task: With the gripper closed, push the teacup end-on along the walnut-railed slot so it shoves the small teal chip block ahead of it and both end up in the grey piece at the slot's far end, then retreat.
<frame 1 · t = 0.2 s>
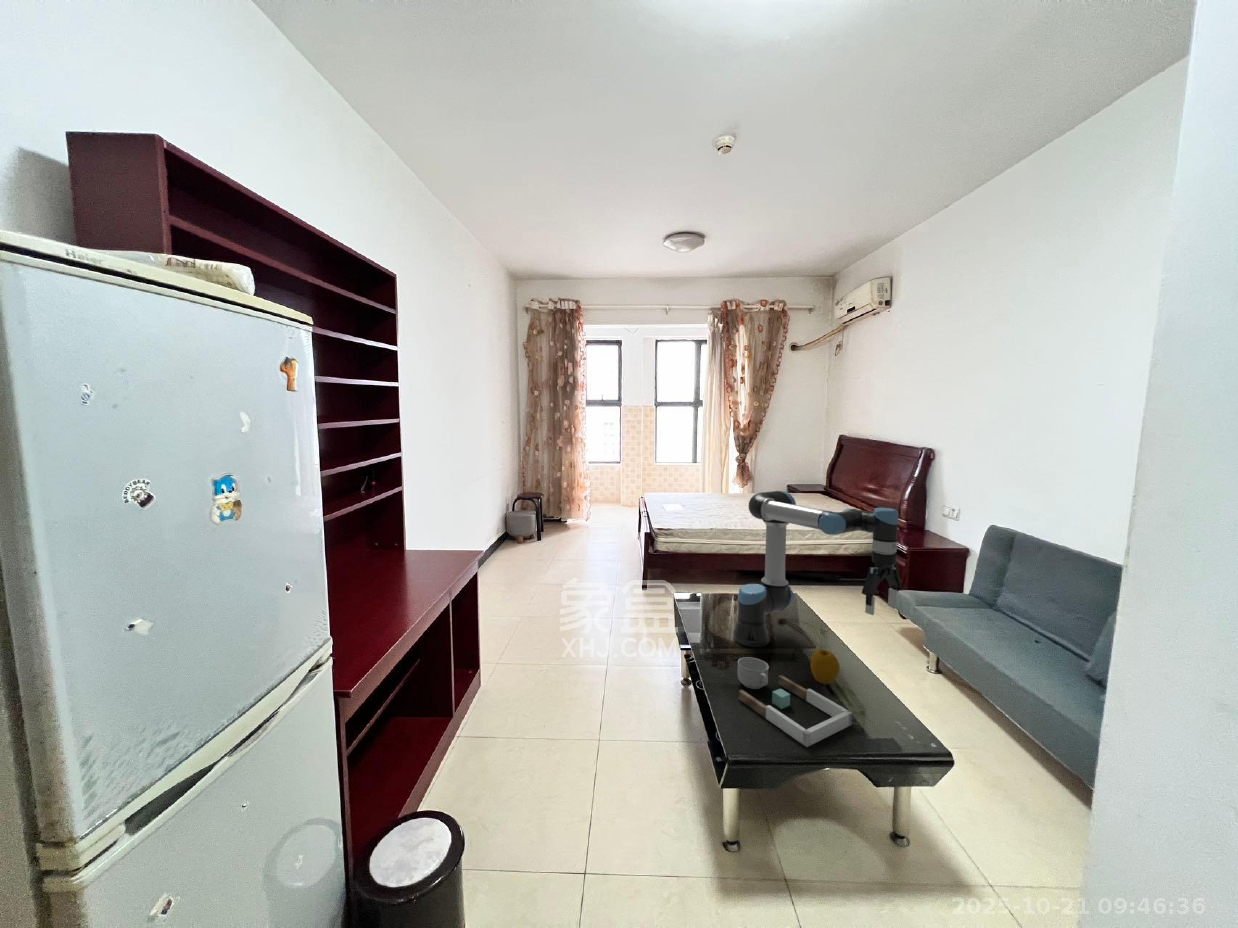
hand: (881, 610, 166), 28 cm above the table, fingers open, 13 cm apart
chip block: (780, 704, 156), on the table
teacup: (754, 687, 166), on the table
slot rails: (773, 699, 159), on the table
grey piece: (808, 721, 147), on the table
apple: (823, 682, 170), on the table
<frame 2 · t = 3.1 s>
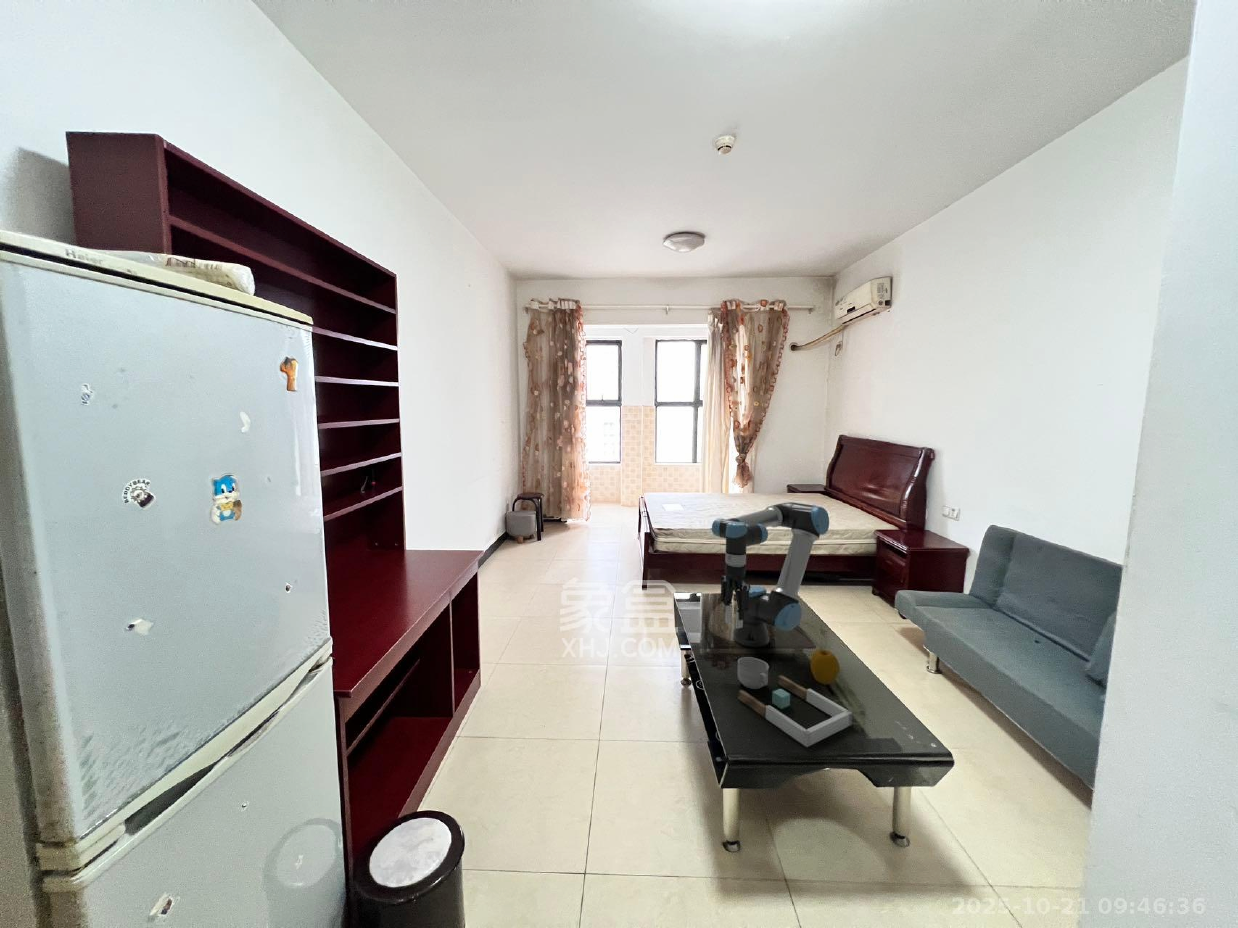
hand: (733, 624, 174), 19 cm above the table, fingers open, 5 cm apart
nothing on the table moved.
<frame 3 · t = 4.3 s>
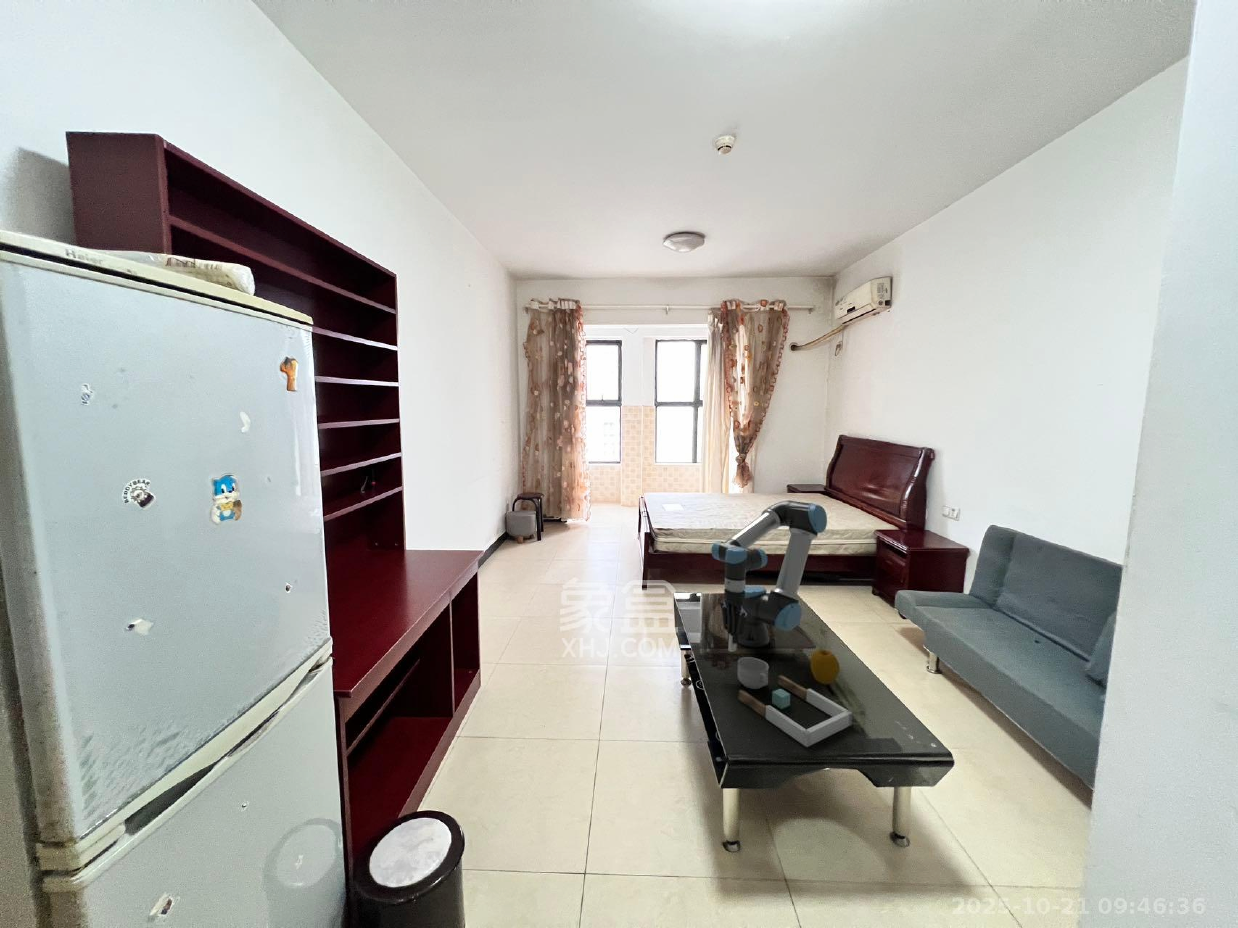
hand: (732, 650, 175), 9 cm above the table, fingers closed
nothing on the table moved.
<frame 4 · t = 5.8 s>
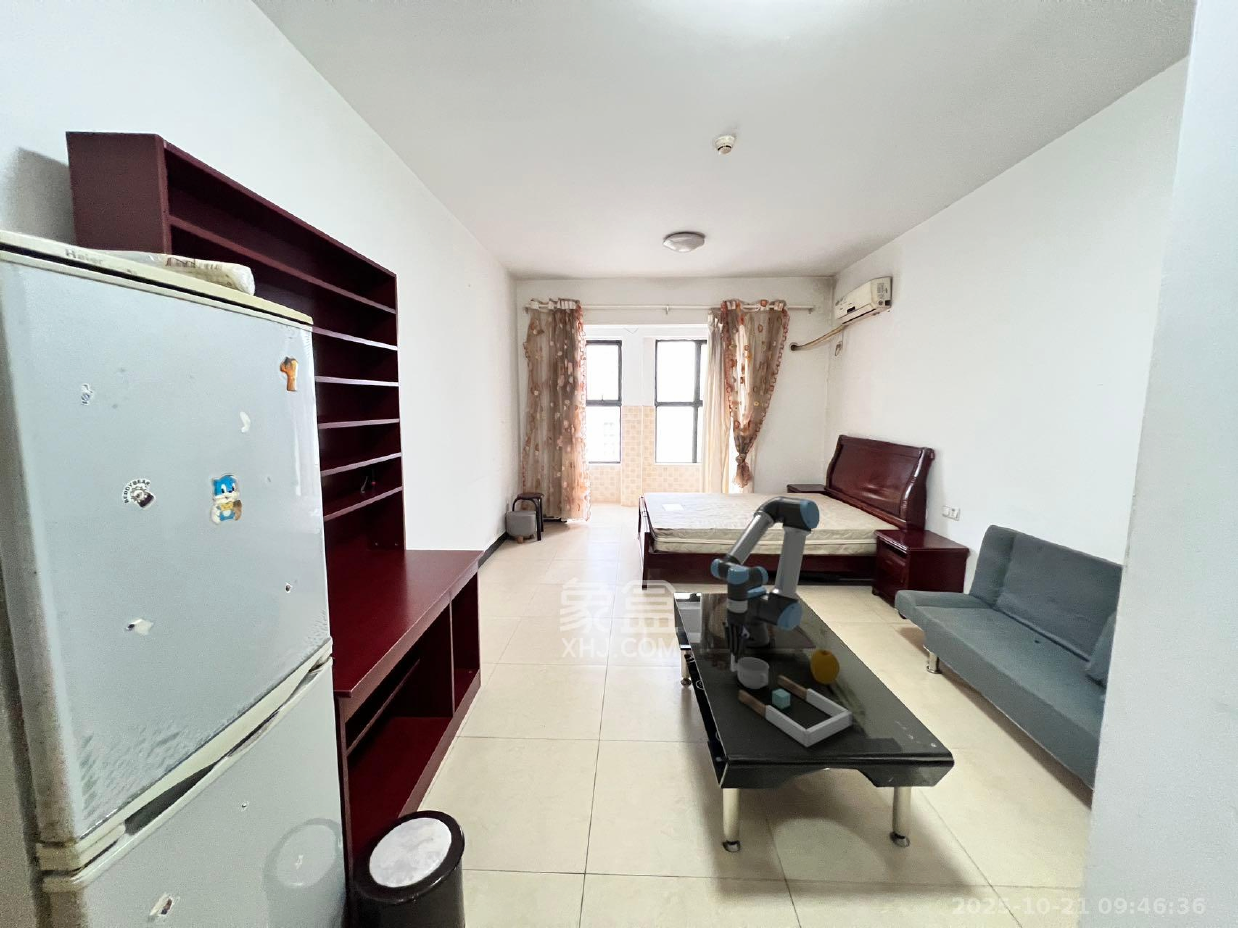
hand: (734, 669, 175), 2 cm above the table, fingers closed
teacup: (754, 687, 166), on the table, touching gripper
everything else where it was.
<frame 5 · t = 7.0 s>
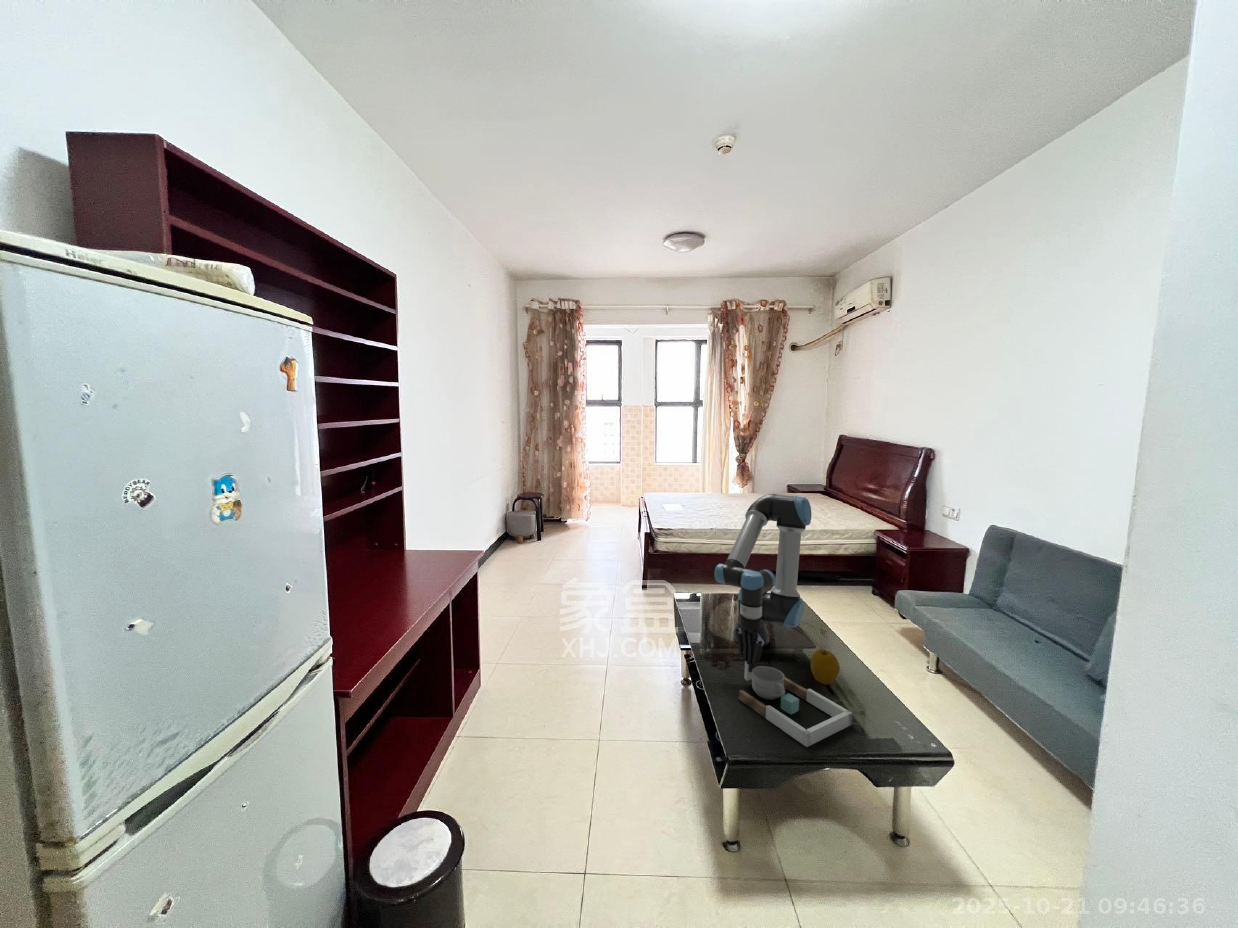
hand: (748, 678, 168), 2 cm above the table, fingers closed
chip block: (789, 709, 153), on the table, touching teacup
teacup: (769, 697, 160), on the table, touching chip block, gripper
everything else where it was.
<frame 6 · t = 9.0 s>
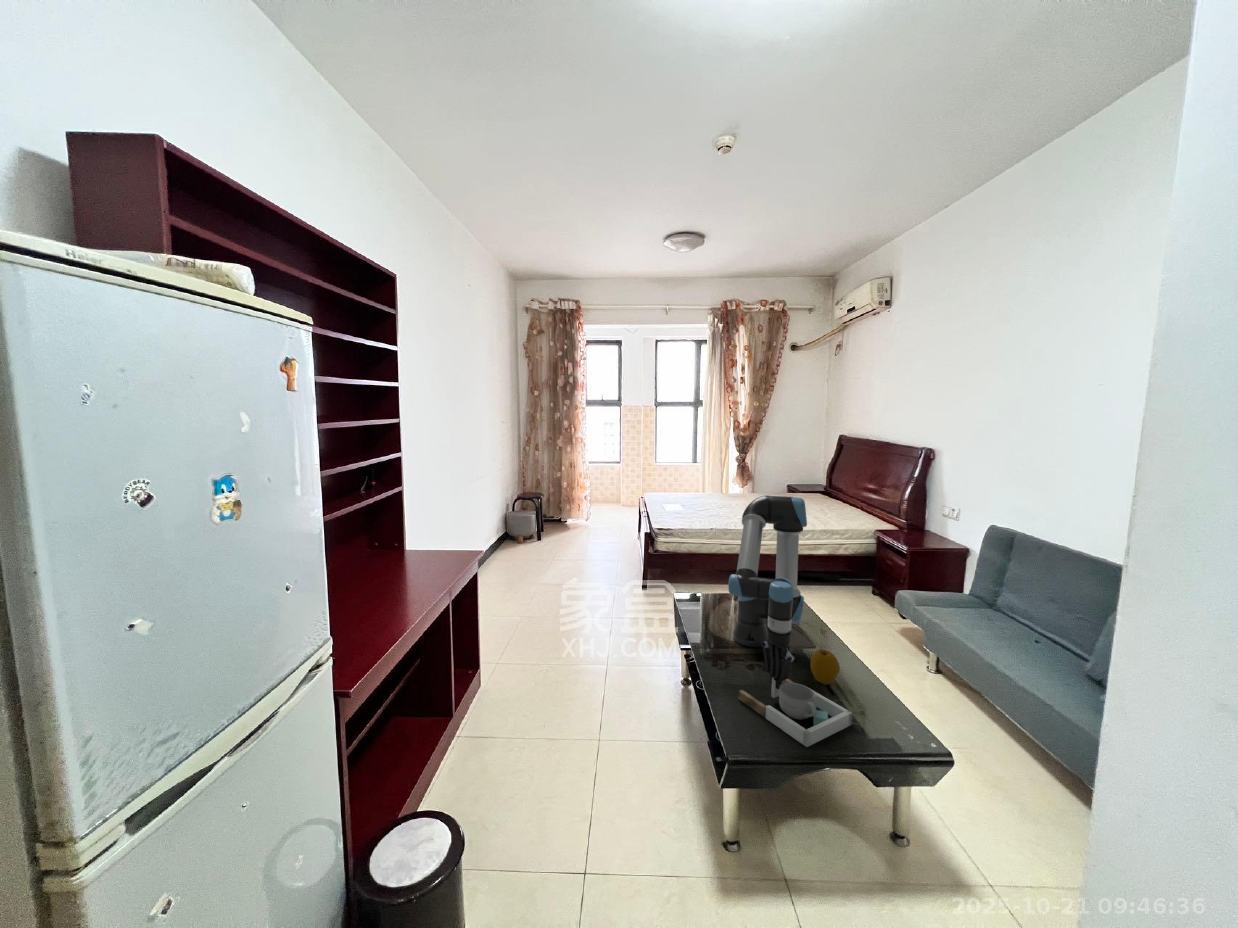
hand: (775, 696, 157), 2 cm above the table, fingers closed
chip block: (820, 726, 144), on the table, touching grey piece, teacup
teacup: (798, 717, 149), on the table, touching chip block, gripper
everything else where it was.
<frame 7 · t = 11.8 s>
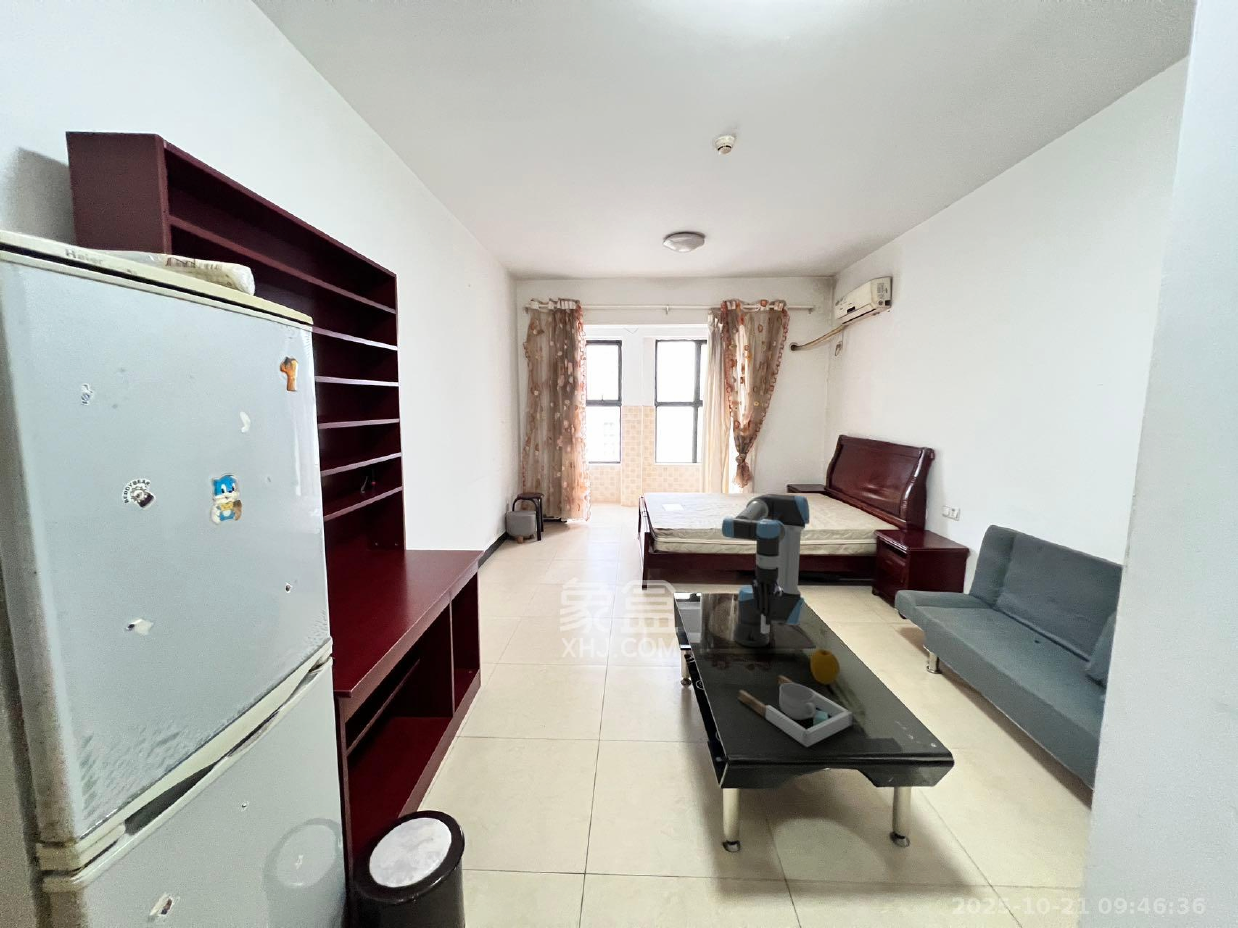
hand: (765, 632, 161), 22 cm above the table, fingers closed
chip block: (820, 726, 144), on the table
teacup: (798, 717, 149), on the table
everything else where it was.
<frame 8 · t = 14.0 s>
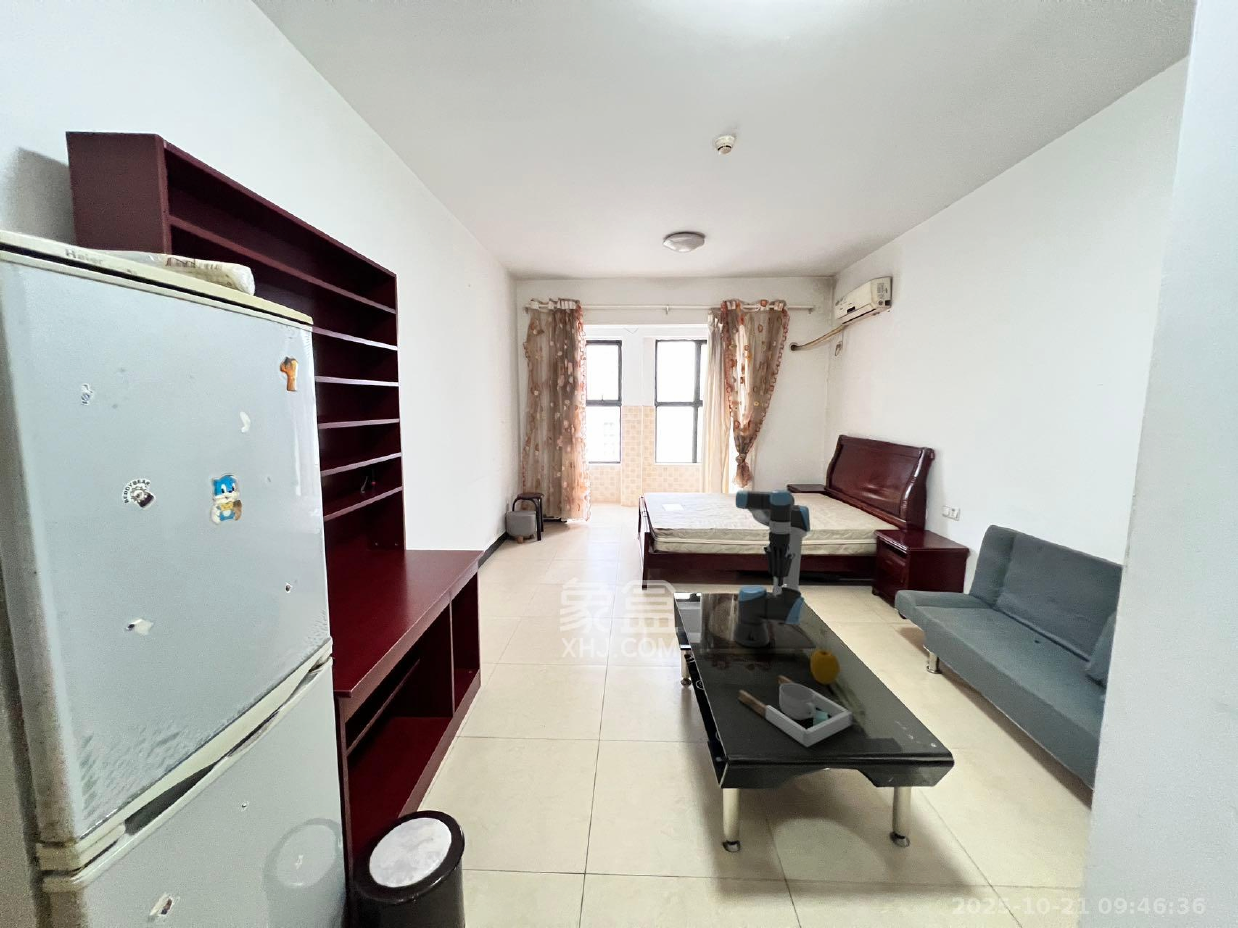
hand: (777, 593, 175), 30 cm above the table, fingers closed
chip block: (820, 726, 144), on the table, touching teacup
teacup: (798, 717, 149), on the table, touching chip block
everything else where it was.
at the end: teacup inside the target area (2.4 cm from its centre), on the table; teacup tilted 0°; chip block inside the target area (3.9 cm from its centre), on the table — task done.
